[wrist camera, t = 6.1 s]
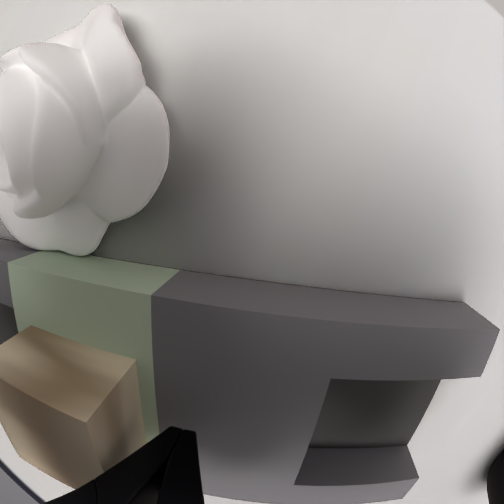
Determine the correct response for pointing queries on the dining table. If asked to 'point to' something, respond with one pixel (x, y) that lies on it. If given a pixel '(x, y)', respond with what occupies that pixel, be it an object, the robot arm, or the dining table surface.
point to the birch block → (69, 405)
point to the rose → (77, 136)
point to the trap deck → (260, 367)
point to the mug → (496, 481)
